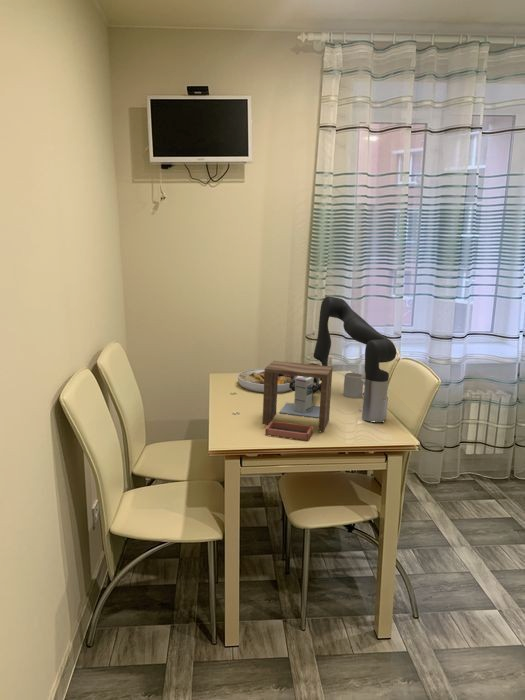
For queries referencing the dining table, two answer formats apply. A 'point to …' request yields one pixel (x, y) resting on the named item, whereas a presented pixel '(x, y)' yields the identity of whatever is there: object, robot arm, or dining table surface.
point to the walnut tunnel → (296, 370)
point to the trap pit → (289, 430)
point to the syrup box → (303, 394)
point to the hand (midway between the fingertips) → (303, 390)
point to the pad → (290, 410)
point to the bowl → (256, 380)
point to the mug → (353, 385)
